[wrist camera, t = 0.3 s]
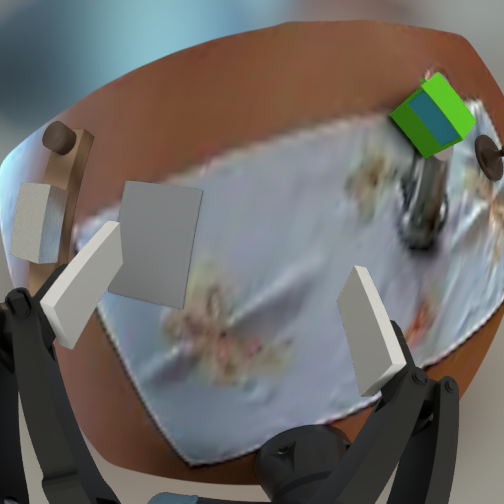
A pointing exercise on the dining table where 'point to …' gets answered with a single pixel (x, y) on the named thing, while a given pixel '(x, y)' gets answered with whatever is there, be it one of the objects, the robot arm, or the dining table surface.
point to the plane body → (65, 177)
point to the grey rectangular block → (38, 222)
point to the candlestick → (489, 157)
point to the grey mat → (156, 242)
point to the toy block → (434, 116)
